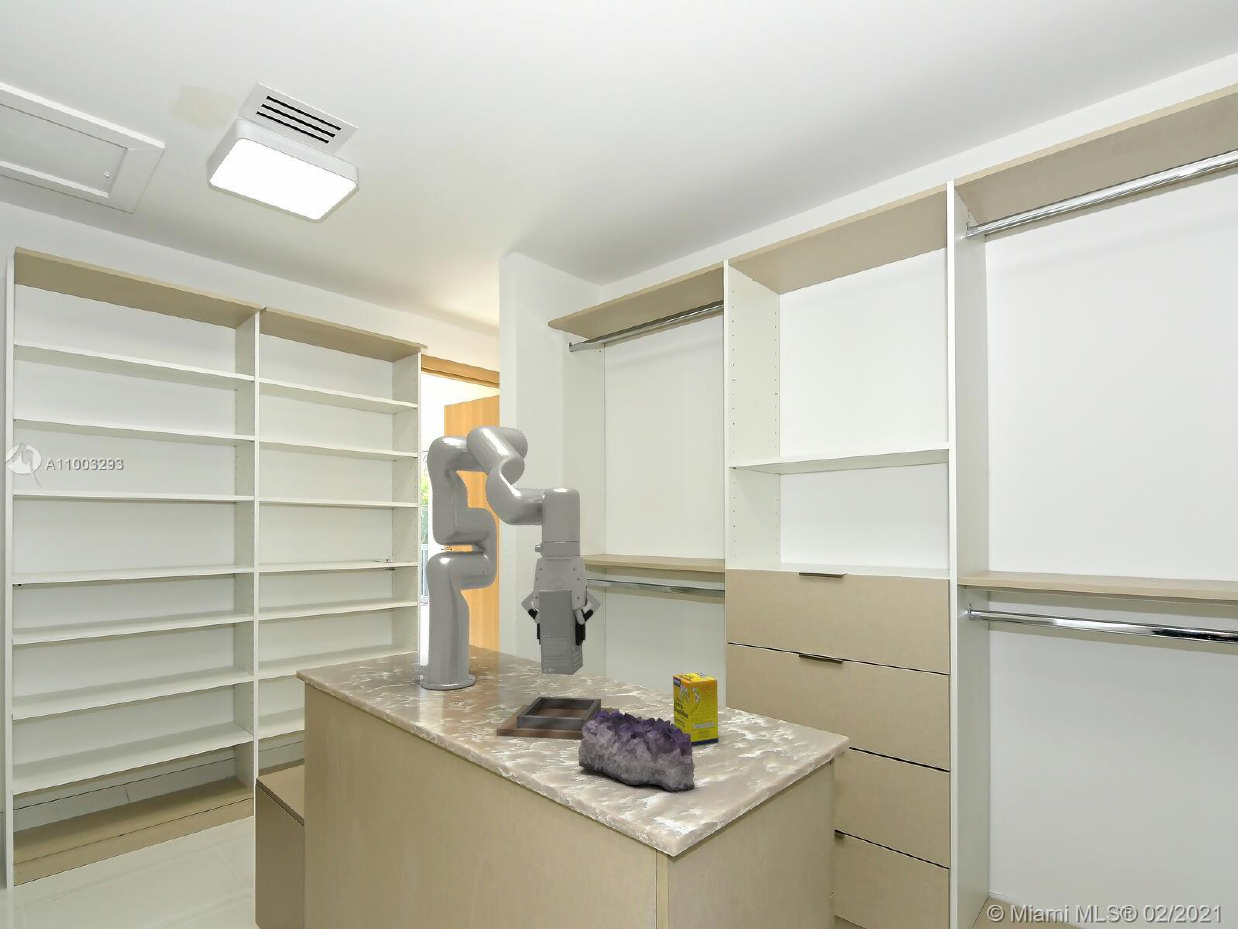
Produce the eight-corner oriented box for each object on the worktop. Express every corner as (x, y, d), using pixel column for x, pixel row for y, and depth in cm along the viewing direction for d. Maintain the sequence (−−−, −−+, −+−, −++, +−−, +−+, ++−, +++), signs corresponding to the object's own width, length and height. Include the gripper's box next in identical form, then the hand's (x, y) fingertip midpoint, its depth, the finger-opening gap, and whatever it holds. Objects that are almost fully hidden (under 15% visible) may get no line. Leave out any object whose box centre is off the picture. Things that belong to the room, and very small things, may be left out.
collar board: (496, 735, 119) (496, 717, 120) (523, 710, 135) (523, 694, 135) (604, 741, 116) (604, 722, 116) (619, 714, 132) (619, 698, 132)
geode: (715, 775, 100) (712, 711, 100) (676, 813, 91) (673, 742, 91) (610, 744, 112) (606, 687, 112) (566, 774, 103) (562, 712, 103)
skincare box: (573, 676, 121) (573, 590, 123) (536, 674, 123) (536, 589, 124) (584, 666, 130) (584, 585, 131) (550, 665, 131) (550, 585, 133)
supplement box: (672, 737, 118) (672, 675, 119) (701, 732, 120) (700, 671, 121) (689, 747, 112) (688, 682, 113) (719, 742, 115) (717, 678, 116)
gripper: (512, 552, 126) (512, 646, 124) (600, 551, 123) (601, 648, 122) (524, 550, 133) (524, 639, 132) (608, 550, 131) (608, 641, 129)
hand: (561, 643), depth 127 cm, fingers closed on skincare box, 6 cm apart
